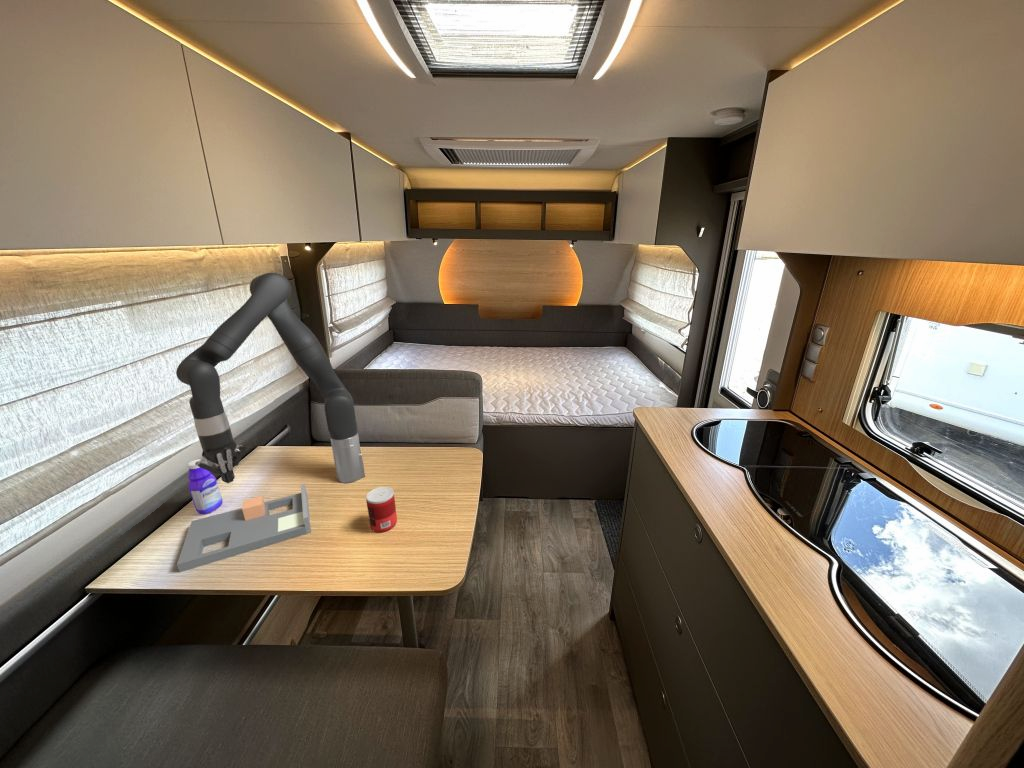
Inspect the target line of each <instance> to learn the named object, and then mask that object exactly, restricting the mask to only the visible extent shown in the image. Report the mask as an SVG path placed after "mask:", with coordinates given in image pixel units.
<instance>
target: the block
mask: <svg viewBox="0 0 1024 768" xmlns="http://www.w3.org/2000/svg"><path fill="white" fill-rule="evenodd" d="M264 502H265V501H264V497H263V495H261V496H257V497H252V498H249V499H244V500H243V502H242V507H241V508H242V510H243V514H244V518H245V521H246V520H249V519H253V518H257V517H260V516H264V515H265V504H264Z"/></svg>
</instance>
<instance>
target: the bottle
mask: <svg viewBox="0 0 1024 768" xmlns="http://www.w3.org/2000/svg"><path fill="white" fill-rule="evenodd" d="M200 460H201V458H199V459H195V460H191V461H189V462H188V463H187V467H188V473H189V474H188V476H187V479H188V480H189V482H188V491H189V493H190V496H191V499H192V502H193V505H194V508H195V511H196V513H199V514H201V515H208V514H211V513H213V512H214V511H216V510H218V509H219V508H220V507H221V506H222V505H223V502H224V501H223V498H222V495H221V492H220V491H221V489H220V488H219V487H220V486H219V484H218V482H217V481H218V480H217V478H216V477H215V476H214V474H213V473H212V472H210V471H207V470H205V469H203V468H200V467H198V466H196V465H195V463H196V462H198V461H200Z"/></svg>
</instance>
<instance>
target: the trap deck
mask: <svg viewBox="0 0 1024 768" xmlns="http://www.w3.org/2000/svg"><path fill="white" fill-rule="evenodd" d="M300 491H301V492H300V493H299V492H298V493H296V494H292V495H287V496H284V497H281V498H276V499H272V500H267V501H264V504H265V515H264V516H260V517H257V518H253V519H249V520H246V521H245V518H244V514H243V510H242V508H243V507H241V508H237V509H233V510H229V511H225V512H221V513H218V514H214V515H209V516H206V517H202V518H198V519H194V520H191V522H190V524H189V528H188V531H187V534H186V536H185V540H184V543H183V544H182V549H181V552H180V554H179V558H178V560H177V563H176V567H177V569H178V571H179V573H181V572H185V571H188V570H193V569H196V568H198V567H201V566H205V565H208V564H211V563H215V562H218V561H222V560H225V559H227V558H228V559H229V558H231V557H235V556H238V555H241V554H245V553H249V552H251V551H254V550H259V549H261V548H264V547H268V546H271V545H275V544H278V543H282V542H284V541H288V540H291V539H295V538H297V537H301V536H304V535H307V534H311V533H312V529H311V527H312V526H311V519H310V517H311V516H310V508H309V506H310V505H309V497H308V492H307V487H306V484H305V483H303V484H300ZM283 506H284V507H287V506H292V508H291V509H287V510H285V511H280V512H276V513H273V514H270V511H272V510H271V509H273V510H276V509H275V508H277V509H280V508H283ZM279 507H280V508H279ZM269 510H270V511H269ZM225 541H228V545H227V546H225V547H220V548H217V549H215V550H211V551H207V552H204V547H205V548H206V547H208V546H212V545H215V544H218V543H221V542H225ZM203 552H204V553H203Z"/></svg>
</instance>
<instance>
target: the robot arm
mask: <svg viewBox="0 0 1024 768" xmlns="http://www.w3.org/2000/svg"><path fill="white" fill-rule="evenodd" d="M249 291H250V294H251V295H250V297H249V298H248V299H247V300H246V301H245V303H244V304H243V305H242V306H241V307H240V308H238V310H236V311H235V312H234V313H232V315H230V316H229V317H228V318H227V319H225V321H223V323H221V324H220V325H219V326H218V327H217V328H216V329H215V330H214V331H213V332H212V334H211V335H210V336H209V337H207V339H206V340H205V341H204V342H203V344H202V345H201V346H199V347H197V348H196V349H195V350H193V351H192V352H191V353H189V355H187V356H186V357H184V359H183V360H182V361H180V363H179V365H178V366H177V368H176V370H175V371H176V373H175V374H176V378H177V379H178V380H179V381H180V382H181V383H183V384H185V385H187V386H189V388H190V391H191V395H192V396H191V397H190V399H189V401H188V402H189V406H190V409H191V413H192V414H191V415H192V416H193V420H194V423H193V424H194V426H195V427H194V428H195V430H196V431H195V432H196V434H197V437H198V441H199V443H200V447H201V448H202V453H201V456H202V457H201V458H200V459H201V460H200V461H198V462H196V463H195V465H196V466H198V467H200V468H203V469H205V470H207V471H210V472H211V474H213V475H214V474H215V475H219V476H220V478H221V481H222V482H224V483H226V484H230V483H233V482H234V480H235V473H234V468H235V467H237V466H239V464H240V462H241V461H242V457H243V456H244V454H245V451H246V450H247V447H246V446H244V445H242V444H237V443H236V442H235V441H234V436H233V432H232V429H231V427H230V421H229V419H228V416H227V414H226V412H225V410H224V406H223V401H222V398H221V381H220V375H219V372H218V371H217V369H216V366H217V365H218V364H219V363H221V362H225V361H228V360H229V359H230V358H231V357H233V355H234V354H235V353H237V350H239V348H240V347H241V346H242V345H243V343H244V342H245V341H246V340H247V339H248V338H249V337H250V335H251V334H252V333H253V332H254V330H255V329H256V328H257V327H258V326H259V325H260V324H261V323H262V322H263V321H264V320H265V319H266V317H267V318H268V319H269V321H270V322H271V323H272V326H274V328H275V330H276V331H277V333H278V336H279V337H280V338H281V341H283V343H284V344H285V347H286V348H287V350H288V352H289V354H290V355H291V356H292V358H293V360H294V361H295V362H296V364H297V365H298V367H299V368H300V369H301V370H302V372H304V373H305V375H306V376H308V377H309V378H310V379H311V380H312V382H314V384H315V385H316V387H317V389H318V390H319V391H318V392H320V394H321V397H322V399H323V401H324V414H325V420H326V425H327V430H328V434H329V438H330V444H331V450H332V456H333V462H334V467H335V474H336V478H337V481H338V482H339V483H342V484H349V483H350V484H351V483H353V482H357V481H358V480H361V479H362V478H365V477H366V473H365V468H364V467H365V466H364V459H363V453H362V450H361V446H360V444H361V443H360V439H359V437H360V436H359V431H358V425H357V418H356V417H357V416H356V412H355V406H354V398H353V396H352V394H351V393H350V392H349V390H348V389H347V388H346V387H345V384H344V383H342V381H341V380H340V378H339V377H338V375H337V373H336V372H335V370H334V368H333V365H332V363H331V361H330V359H329V357H328V356H327V354H326V351H325V350H324V347H323V346H322V345H321V343H320V341H319V339H318V338H317V337H316V335H315V334H314V332H312V330H311V329H310V328H309V327H308V326H307V325H306V324H305V323H303V322H302V321H301V319H300V318H298V317H297V315H296V314H295V313H294V311H293V309H292V308H291V307H290V304H289V303H288V299H289V298H290V296H291V293H292V286H291V283H290V281H289V279H288V278H287V277H286V276H284V275H283V274H281V273H278V272H266V273H262V274H260V275H258V276H256V277H254V278H253V279H251V281H250V284H249ZM208 461H210V462H212V463H213V464H214V465H215V467H216V468H215V467H213V466H211V465H209V462H208Z"/></svg>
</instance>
